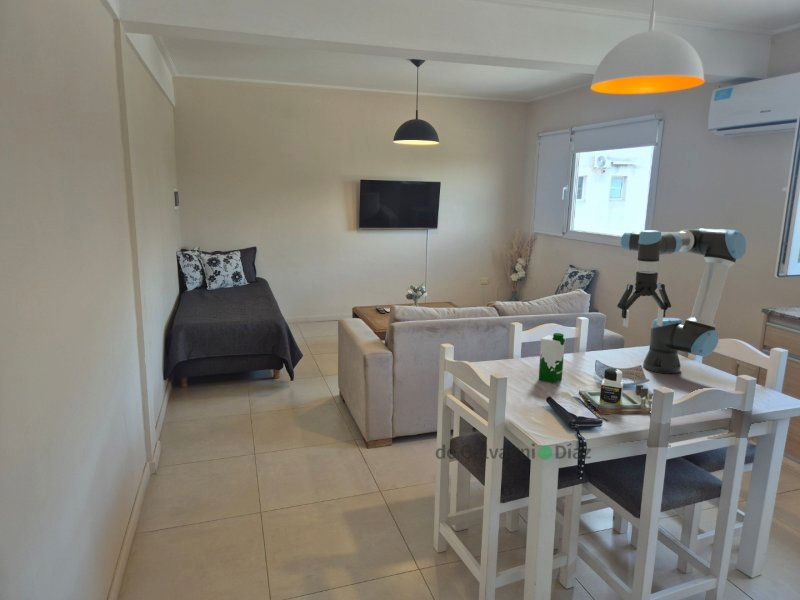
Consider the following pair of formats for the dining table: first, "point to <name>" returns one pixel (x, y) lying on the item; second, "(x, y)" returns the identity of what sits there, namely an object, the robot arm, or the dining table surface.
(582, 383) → the dining table surface
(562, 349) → the milk carton
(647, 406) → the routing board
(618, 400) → the medicine bottle
